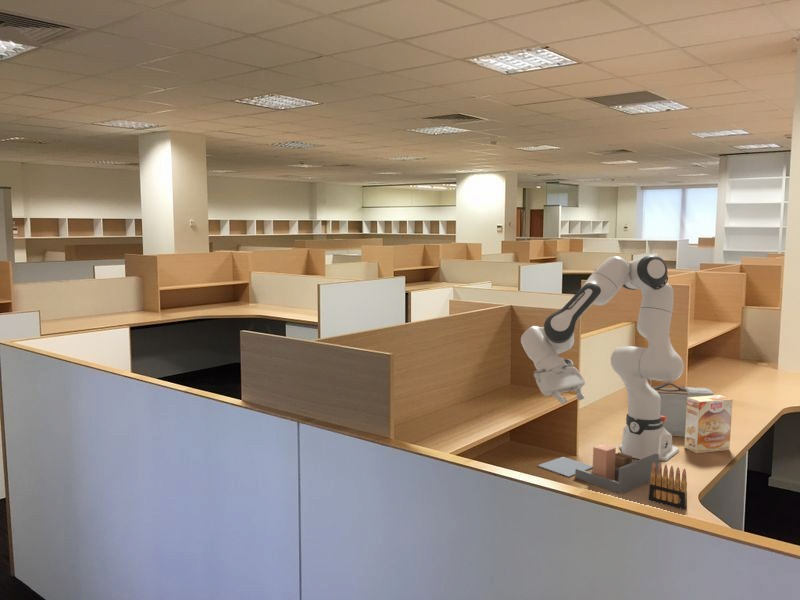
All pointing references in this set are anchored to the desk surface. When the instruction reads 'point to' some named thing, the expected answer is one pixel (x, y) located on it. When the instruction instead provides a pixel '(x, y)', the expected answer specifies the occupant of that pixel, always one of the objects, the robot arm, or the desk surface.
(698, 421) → the coffeecake box
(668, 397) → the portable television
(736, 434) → the desk surface
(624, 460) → the walnut block
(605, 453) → the terracotta block
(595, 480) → the lane rack
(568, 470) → the slate mat
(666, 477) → the ammunition clip
